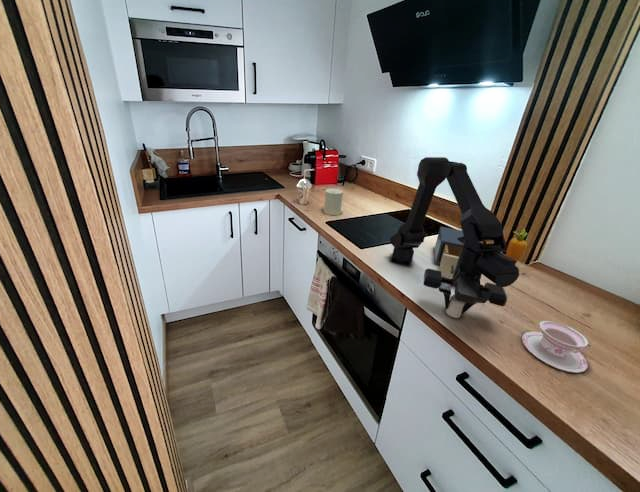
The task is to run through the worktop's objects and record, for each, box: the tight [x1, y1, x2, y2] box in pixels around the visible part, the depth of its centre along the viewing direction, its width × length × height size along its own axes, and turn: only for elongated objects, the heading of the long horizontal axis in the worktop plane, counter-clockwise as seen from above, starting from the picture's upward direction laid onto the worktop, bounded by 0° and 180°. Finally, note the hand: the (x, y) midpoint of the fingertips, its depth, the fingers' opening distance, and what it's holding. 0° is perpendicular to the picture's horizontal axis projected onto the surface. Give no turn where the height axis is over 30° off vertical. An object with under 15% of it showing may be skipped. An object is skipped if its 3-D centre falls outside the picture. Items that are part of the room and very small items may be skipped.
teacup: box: [521, 320, 592, 374], centre depth 68 cm, size 12×12×6 cm
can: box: [322, 187, 344, 216], centre depth 148 cm, size 9×9×12 cm
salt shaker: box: [445, 294, 465, 319], centre depth 79 cm, size 4×4×6 cm
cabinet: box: [434, 226, 483, 266], centre depth 106 cm, size 14×13×10 cm
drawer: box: [438, 244, 462, 279], centre depth 96 cm, size 17×12×8 cm
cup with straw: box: [296, 168, 315, 205], centre depth 158 cm, size 8×9×20 cm
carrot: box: [505, 228, 528, 263], centre depth 101 cm, size 5×5×15 cm
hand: (453, 310), depth 80 cm, fingers closed on salt shaker, 3 cm apart
